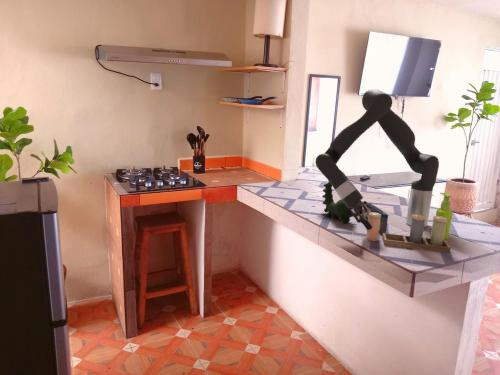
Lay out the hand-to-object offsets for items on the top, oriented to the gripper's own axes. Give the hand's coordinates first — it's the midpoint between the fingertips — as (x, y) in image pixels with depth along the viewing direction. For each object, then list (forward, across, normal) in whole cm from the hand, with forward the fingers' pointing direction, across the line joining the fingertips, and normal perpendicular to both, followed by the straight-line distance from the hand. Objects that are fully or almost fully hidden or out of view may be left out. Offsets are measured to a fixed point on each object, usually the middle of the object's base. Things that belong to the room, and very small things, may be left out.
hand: (373, 226), depth 153 cm
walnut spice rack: (+16, +5, -6) cm, 17 cm away
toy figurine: (-11, +21, +21) cm, 32 cm away
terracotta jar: (+5, 0, +5) cm, 7 cm away
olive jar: (+20, +7, -12) cm, 24 cm away
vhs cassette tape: (+2, +17, +8) cm, 19 cm away
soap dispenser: (+20, +22, -10) cm, 32 cm away
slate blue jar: (+15, +5, -7) cm, 17 cm away
